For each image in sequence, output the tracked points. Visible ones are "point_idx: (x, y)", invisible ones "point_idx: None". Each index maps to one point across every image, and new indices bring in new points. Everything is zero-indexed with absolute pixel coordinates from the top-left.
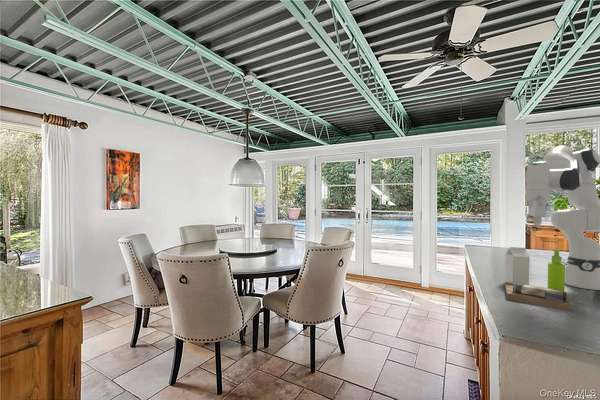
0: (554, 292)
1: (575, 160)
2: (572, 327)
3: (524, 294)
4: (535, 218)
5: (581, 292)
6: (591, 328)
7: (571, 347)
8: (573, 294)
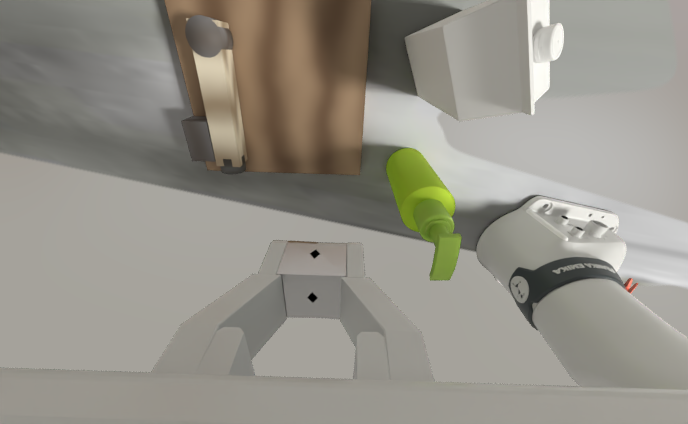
0: (208, 144)
1: None
2: (74, 138)
3: None
4: (180, 341)
5: None
6: (110, 172)
7: None
8: None
